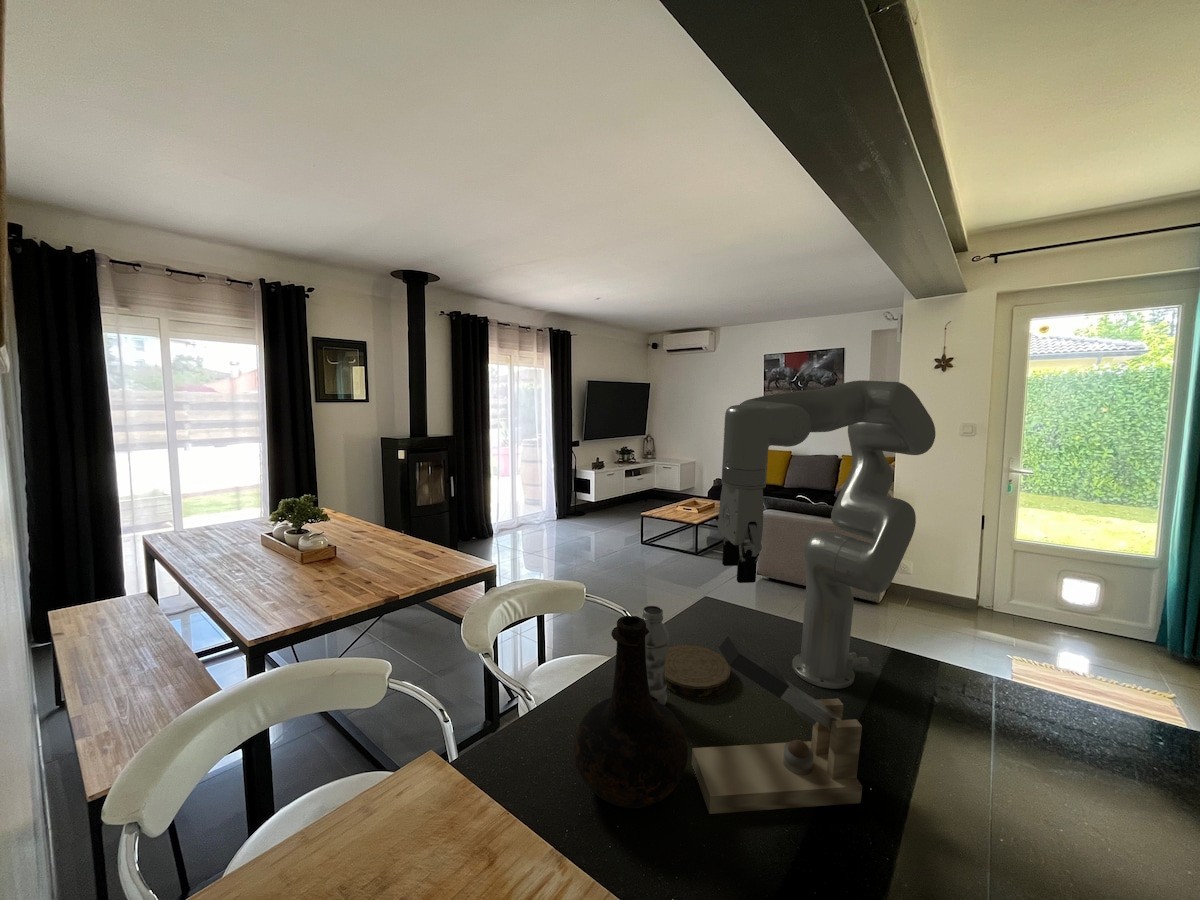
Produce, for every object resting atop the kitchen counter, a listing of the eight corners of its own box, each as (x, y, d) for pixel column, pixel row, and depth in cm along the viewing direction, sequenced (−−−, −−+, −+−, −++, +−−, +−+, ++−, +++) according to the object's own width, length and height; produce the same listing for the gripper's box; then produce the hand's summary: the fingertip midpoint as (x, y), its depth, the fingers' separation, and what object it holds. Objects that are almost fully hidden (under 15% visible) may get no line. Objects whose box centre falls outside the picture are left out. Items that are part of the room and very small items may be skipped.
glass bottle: (697, 762, 90) (705, 607, 85) (666, 849, 74) (674, 664, 69) (601, 731, 97) (604, 587, 92) (554, 804, 81) (554, 634, 76)
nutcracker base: (827, 755, 92) (833, 692, 90) (860, 803, 82) (868, 733, 80) (691, 764, 89) (694, 699, 87) (709, 813, 79) (713, 742, 77)
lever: (821, 721, 87) (834, 706, 87) (838, 743, 83) (851, 726, 82) (714, 652, 83) (727, 635, 83) (725, 671, 79) (739, 653, 78)
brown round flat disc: (686, 709, 104) (686, 695, 103) (641, 668, 118) (641, 655, 117) (746, 686, 112) (746, 673, 111) (697, 650, 125) (697, 638, 125)
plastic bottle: (666, 717, 101) (669, 619, 97) (630, 712, 102) (633, 615, 99) (668, 697, 107) (672, 604, 104) (635, 692, 108) (637, 600, 105)
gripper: (708, 466, 100) (703, 556, 103) (741, 488, 83) (734, 595, 86) (746, 466, 101) (741, 555, 104) (786, 488, 84) (779, 593, 87)
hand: (738, 572), depth 95 cm, fingers open, 6 cm apart
